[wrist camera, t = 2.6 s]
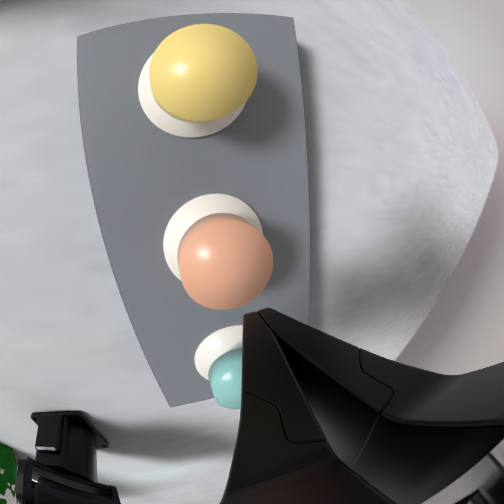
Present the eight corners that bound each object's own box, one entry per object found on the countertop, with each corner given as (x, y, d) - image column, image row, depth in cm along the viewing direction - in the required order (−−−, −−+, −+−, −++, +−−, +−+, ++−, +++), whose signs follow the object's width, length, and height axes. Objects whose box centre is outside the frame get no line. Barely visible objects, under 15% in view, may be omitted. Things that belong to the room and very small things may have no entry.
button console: (293, 349, 23) (307, 370, 21) (166, 384, 20) (170, 409, 18) (275, 30, 13) (294, 16, 11) (88, 50, 10) (76, 35, 8)
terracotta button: (263, 281, 14) (275, 297, 13) (186, 300, 13) (191, 318, 12) (257, 205, 13) (270, 214, 11) (169, 222, 12) (171, 233, 10)
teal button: (271, 380, 18) (280, 397, 16) (214, 397, 17) (220, 415, 15) (268, 339, 16) (278, 356, 15) (202, 357, 15) (207, 376, 14)
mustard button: (249, 118, 11) (262, 115, 10) (154, 130, 10) (154, 128, 9) (241, 35, 9) (252, 23, 8) (147, 43, 8) (146, 29, 7)
